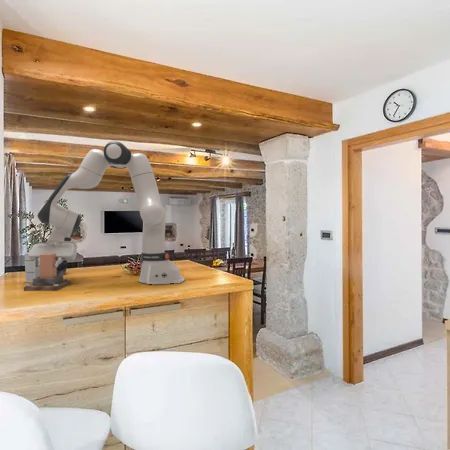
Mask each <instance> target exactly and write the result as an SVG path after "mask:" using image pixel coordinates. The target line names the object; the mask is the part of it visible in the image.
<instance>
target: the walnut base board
mask: <svg viewBox="0 0 450 450" xmlns="http://www.w3.org/2000/svg"><path fill="white" fill-rule="evenodd" d="M71 284H72V281H71V280H70V278H65V279H64V275H57V277H55V278H53V279H40V277H37V278H34V279H33V283H28V284H25V285H24V287H23V292H27V291H29V292H32V291H34V292H35V291H36V292H37V291H38V292H39V291H43V292H44V291H60V290H61V289H63V288H65V287H67V286H69V285H71Z"/></svg>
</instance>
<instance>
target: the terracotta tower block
mask: <svg viewBox="0 0 450 450" xmlns="http://www.w3.org/2000/svg"><path fill="white" fill-rule="evenodd" d="M54 262H57V261H56V253H45V254H41V255H40V279H53V278H55V277H57V267H53V263H54Z"/></svg>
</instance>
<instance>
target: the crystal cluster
mask: <svg viewBox="0 0 450 450" xmlns="http://www.w3.org/2000/svg"><path fill="white" fill-rule="evenodd" d="M56 261H58V260H56ZM68 262H69V261H68V260H63V261H62V262H61V263H60V264H59V265H58V267H57V275H63V276H65V275H66V272H67V270H68V268H67V267H68V265H69V263H68Z"/></svg>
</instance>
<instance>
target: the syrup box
mask: <svg viewBox="0 0 450 450" xmlns="http://www.w3.org/2000/svg"><path fill="white" fill-rule="evenodd" d="M29 252H30V251H28V252H25V253H24V270H25V271H24V272H25V283H28V284H33V279H34V278H37V277H40V267H38V264H39V261H38V260H31V259H30V258H29V257H28V253H29Z"/></svg>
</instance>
